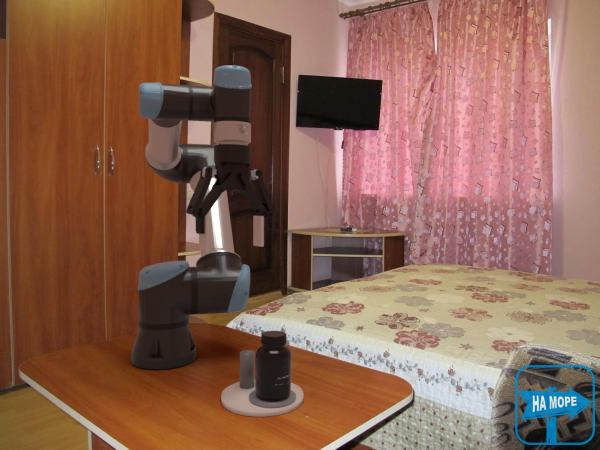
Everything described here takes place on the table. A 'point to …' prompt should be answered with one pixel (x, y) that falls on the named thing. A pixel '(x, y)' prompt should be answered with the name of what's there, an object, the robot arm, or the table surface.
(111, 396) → the table surface
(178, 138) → the robot arm
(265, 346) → the supplement bottle
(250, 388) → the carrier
